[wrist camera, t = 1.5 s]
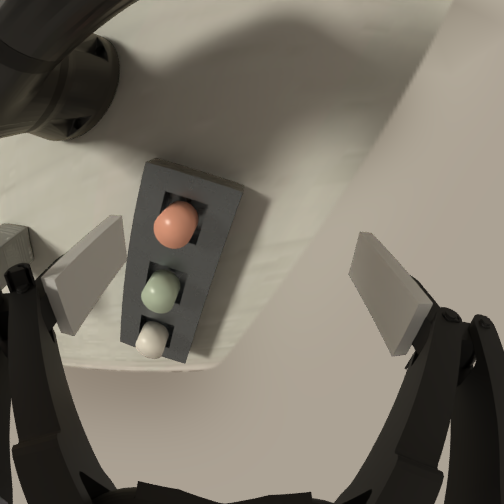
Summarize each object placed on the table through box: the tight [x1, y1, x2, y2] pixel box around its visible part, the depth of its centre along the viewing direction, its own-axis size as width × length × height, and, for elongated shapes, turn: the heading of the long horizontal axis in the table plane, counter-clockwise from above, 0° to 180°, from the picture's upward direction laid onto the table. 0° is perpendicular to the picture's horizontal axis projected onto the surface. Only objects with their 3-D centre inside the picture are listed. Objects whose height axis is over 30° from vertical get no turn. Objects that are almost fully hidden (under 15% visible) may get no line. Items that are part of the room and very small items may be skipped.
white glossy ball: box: [135, 321, 169, 359], centre depth 35 cm, size 4×4×4 cm
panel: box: [120, 158, 244, 363], centre depth 35 cm, size 11×28×4 cm, turn 160°
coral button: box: [154, 201, 199, 249], centre depth 28 cm, size 4×4×4 cm
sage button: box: [141, 269, 180, 313], centre depth 31 cm, size 4×4×4 cm
